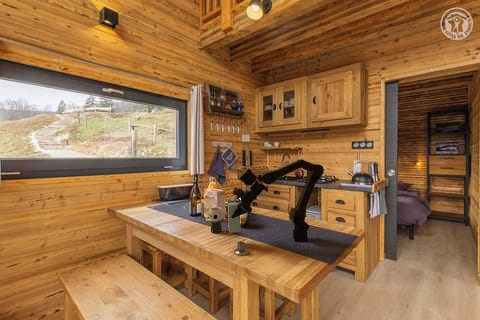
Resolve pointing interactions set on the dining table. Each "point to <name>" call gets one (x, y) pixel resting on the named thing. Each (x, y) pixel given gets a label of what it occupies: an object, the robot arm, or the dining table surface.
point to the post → (241, 249)
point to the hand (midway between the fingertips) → (231, 216)
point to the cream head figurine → (216, 218)
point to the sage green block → (233, 219)
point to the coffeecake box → (213, 200)
